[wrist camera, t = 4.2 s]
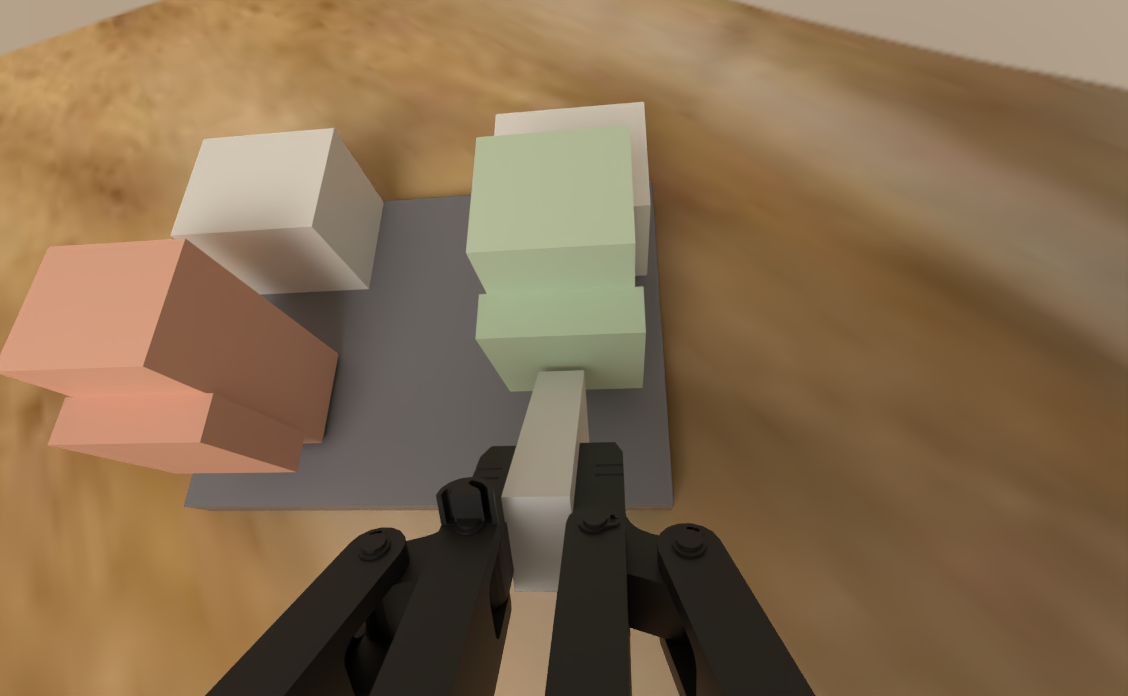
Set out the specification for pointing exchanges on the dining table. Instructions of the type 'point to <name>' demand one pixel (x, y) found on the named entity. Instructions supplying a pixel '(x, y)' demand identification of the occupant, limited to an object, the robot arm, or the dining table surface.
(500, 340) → the notched sage green block
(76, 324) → the salmon stacked blocks
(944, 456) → the dining table surface
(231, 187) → the grey board with blocks
